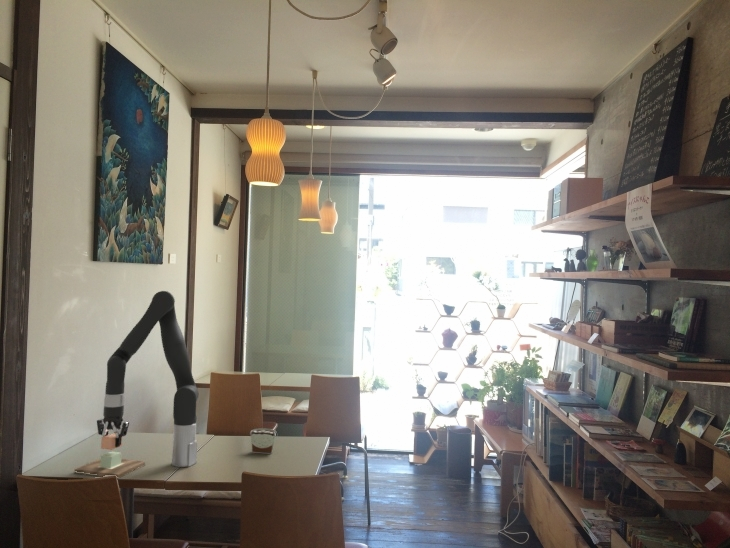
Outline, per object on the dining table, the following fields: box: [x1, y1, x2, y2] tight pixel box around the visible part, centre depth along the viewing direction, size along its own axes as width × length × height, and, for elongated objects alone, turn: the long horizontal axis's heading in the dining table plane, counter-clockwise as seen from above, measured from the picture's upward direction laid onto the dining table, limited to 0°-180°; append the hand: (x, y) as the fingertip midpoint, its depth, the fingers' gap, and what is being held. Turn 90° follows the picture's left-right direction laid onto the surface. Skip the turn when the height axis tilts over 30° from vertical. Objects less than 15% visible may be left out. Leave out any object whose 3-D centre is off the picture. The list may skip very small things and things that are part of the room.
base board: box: [74, 457, 146, 478], centre depth 217 cm, size 20×17×2 cm
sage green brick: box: [100, 450, 122, 468], centre depth 217 cm, size 5×6×4 cm
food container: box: [249, 427, 277, 455], centre depth 249 cm, size 12×6×10 cm, turn 84°
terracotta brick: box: [100, 433, 123, 451], centre depth 217 cm, size 5×6×4 cm
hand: (111, 445), depth 217 cm, fingers closed on terracotta brick, 5 cm apart
